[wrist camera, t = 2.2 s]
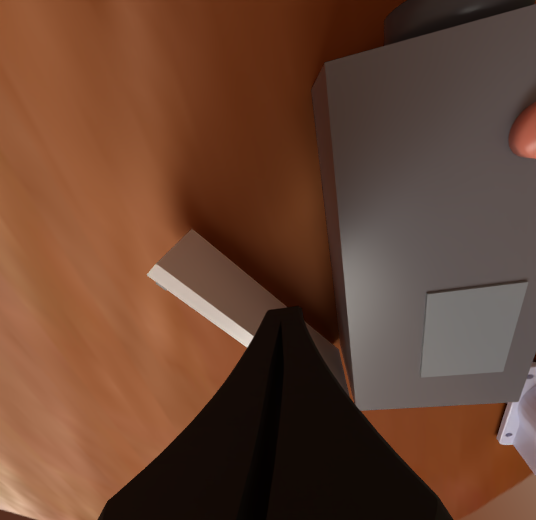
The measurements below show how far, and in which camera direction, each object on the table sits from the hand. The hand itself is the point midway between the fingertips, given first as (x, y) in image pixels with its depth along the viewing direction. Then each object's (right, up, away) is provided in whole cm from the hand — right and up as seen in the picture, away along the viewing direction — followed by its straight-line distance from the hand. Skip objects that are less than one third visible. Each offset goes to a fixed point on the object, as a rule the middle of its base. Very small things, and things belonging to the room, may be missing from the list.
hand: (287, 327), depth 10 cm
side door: (-1, 0, +6) cm, 6 cm away
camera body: (+7, +4, +4) cm, 9 cm away
